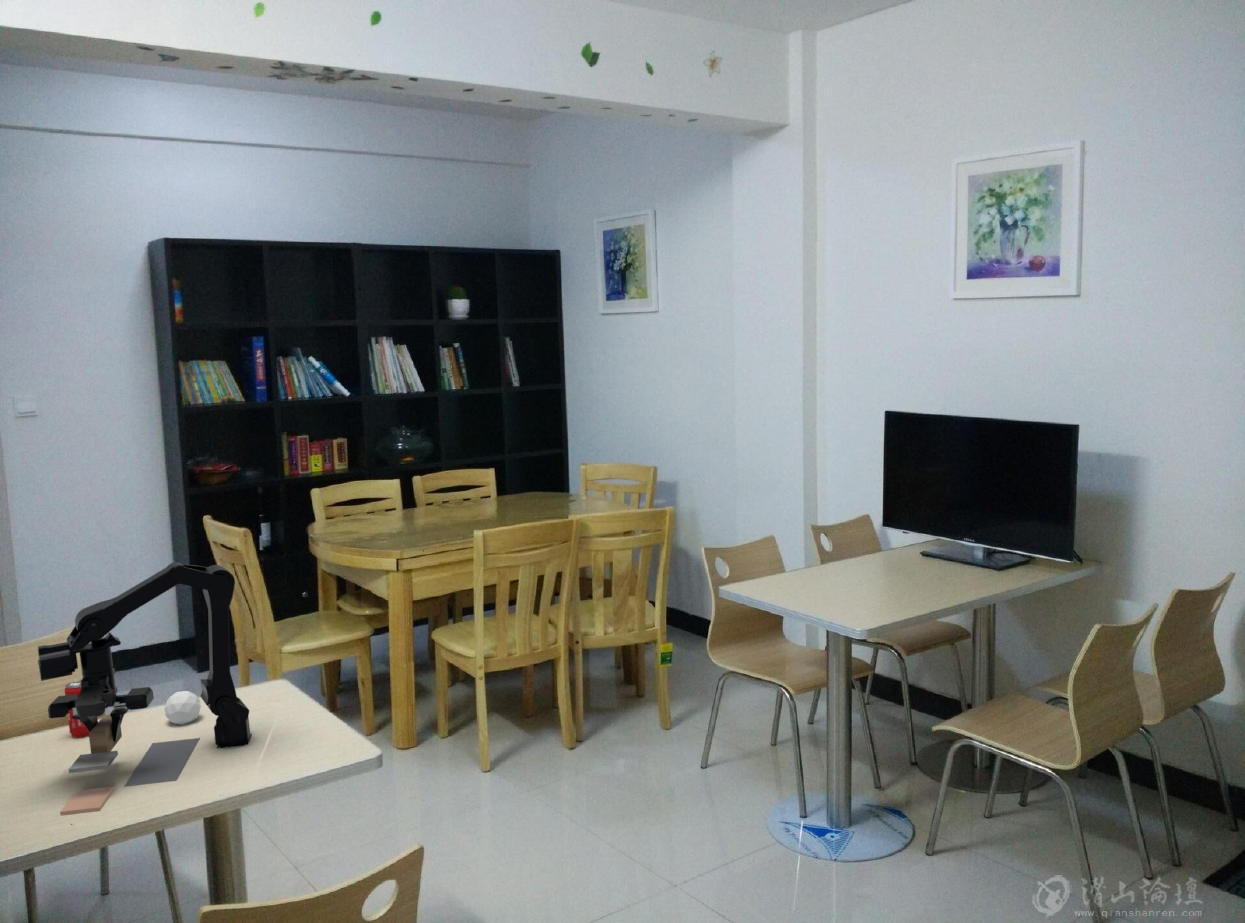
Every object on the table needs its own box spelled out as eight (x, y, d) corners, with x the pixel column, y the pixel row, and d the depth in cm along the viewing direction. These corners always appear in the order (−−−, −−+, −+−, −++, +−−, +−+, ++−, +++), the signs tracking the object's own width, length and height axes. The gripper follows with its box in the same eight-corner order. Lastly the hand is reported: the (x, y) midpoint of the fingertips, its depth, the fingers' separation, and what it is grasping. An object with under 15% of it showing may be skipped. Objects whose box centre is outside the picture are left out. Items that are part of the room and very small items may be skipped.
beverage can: (85, 739, 234) (78, 688, 232) (65, 738, 235) (58, 687, 233) (100, 730, 239) (94, 680, 237) (81, 729, 240) (75, 679, 238)
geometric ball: (183, 731, 243) (186, 698, 247) (207, 723, 240) (209, 689, 244) (155, 726, 237) (158, 692, 241) (179, 717, 234) (182, 683, 238)
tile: (114, 786, 206) (99, 807, 197) (115, 794, 206) (100, 815, 197) (76, 790, 204) (60, 811, 196) (77, 798, 205) (61, 820, 196)
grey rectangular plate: (200, 740, 230) (200, 737, 230) (176, 783, 209) (176, 780, 209) (152, 745, 228) (152, 743, 228) (124, 789, 207) (123, 786, 207)
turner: (96, 739, 218) (93, 716, 217) (131, 735, 219) (129, 712, 218) (69, 773, 201) (65, 748, 201) (107, 768, 202) (104, 744, 202)
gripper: (33, 688, 202) (43, 763, 204) (135, 677, 205) (144, 752, 207) (53, 669, 213) (63, 741, 215) (150, 659, 216) (158, 730, 218)
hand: (106, 741), depth 213 cm, fingers closed on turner, 3 cm apart
